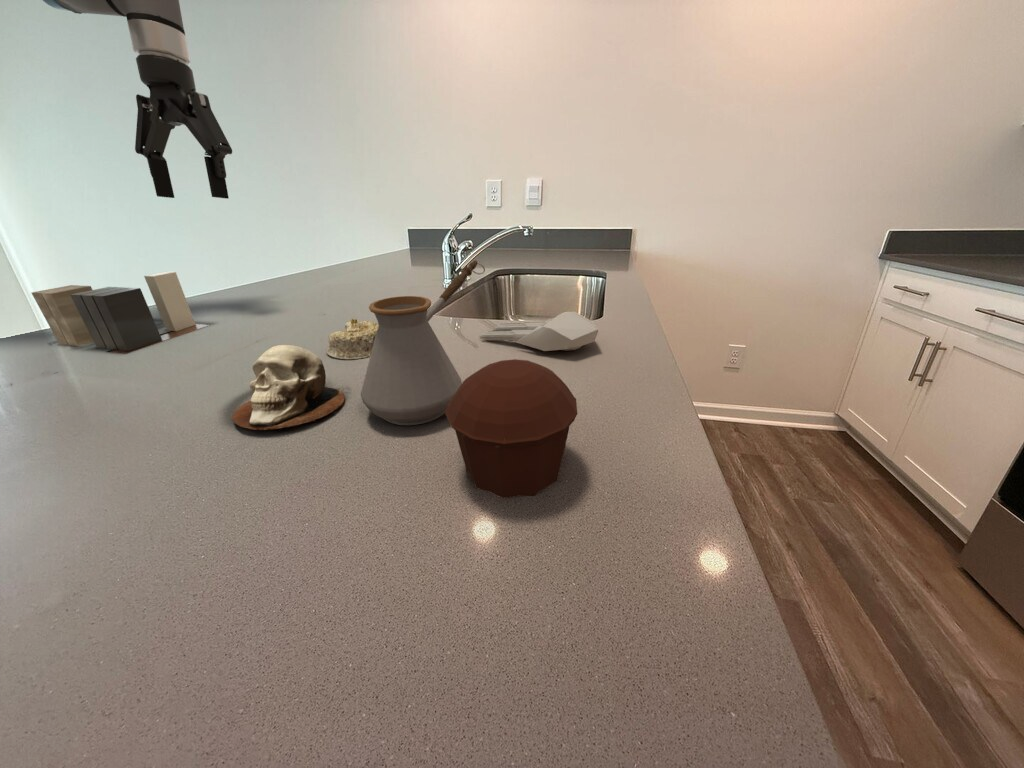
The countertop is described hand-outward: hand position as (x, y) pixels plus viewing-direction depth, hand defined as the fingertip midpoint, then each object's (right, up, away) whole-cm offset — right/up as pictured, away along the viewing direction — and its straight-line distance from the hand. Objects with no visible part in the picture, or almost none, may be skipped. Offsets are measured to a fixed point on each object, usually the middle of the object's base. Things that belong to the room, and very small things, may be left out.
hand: (192, 197), depth 76 cm
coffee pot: (+51, -36, -24) cm, 67 cm away
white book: (-2, -24, 0) cm, 25 cm away
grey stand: (-3, -28, -4) cm, 28 cm away
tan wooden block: (-13, -27, -2) cm, 30 cm away
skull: (+34, -38, -27) cm, 58 cm away
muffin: (+60, -43, -38) cm, 83 cm away
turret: (+65, -28, -9) cm, 71 cm away
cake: (+35, -29, -9) cm, 46 cm away
